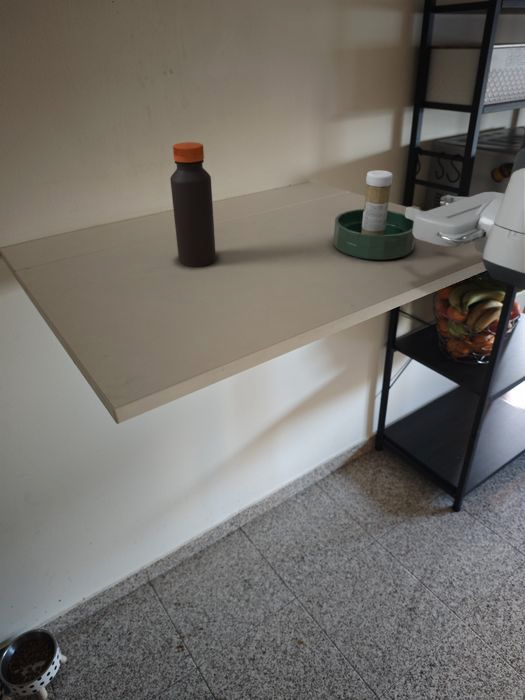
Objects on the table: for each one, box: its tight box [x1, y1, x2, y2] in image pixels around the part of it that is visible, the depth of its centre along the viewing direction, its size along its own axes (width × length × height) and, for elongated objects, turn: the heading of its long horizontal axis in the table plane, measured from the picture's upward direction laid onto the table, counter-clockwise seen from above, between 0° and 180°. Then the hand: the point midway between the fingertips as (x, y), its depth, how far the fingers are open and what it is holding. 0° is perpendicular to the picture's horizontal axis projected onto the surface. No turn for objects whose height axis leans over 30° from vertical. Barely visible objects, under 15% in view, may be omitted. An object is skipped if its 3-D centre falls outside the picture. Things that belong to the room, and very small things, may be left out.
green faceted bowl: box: [332, 208, 416, 261], centre depth 95 cm, size 15×15×5 cm
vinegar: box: [169, 141, 217, 268], centre depth 86 cm, size 7×7×20 cm
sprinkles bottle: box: [362, 169, 394, 235], centre depth 93 cm, size 5×5×13 cm
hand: (425, 205), depth 85 cm, fingers open, 8 cm apart
